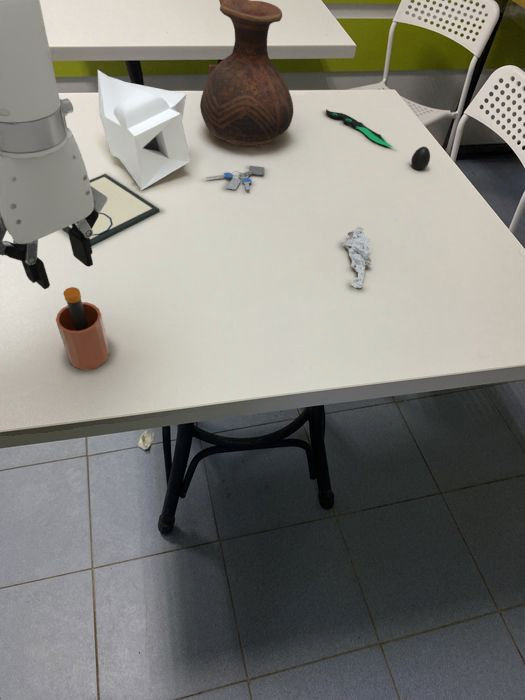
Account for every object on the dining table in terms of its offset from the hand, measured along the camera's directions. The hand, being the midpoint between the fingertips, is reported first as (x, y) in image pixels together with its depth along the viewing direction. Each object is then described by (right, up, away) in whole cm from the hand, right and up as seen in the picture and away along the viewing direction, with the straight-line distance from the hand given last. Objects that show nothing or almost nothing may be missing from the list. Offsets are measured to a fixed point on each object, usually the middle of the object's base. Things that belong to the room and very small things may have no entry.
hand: (62, 270), depth 60 cm
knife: (+49, +47, +67) cm, 96 cm away
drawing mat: (-8, +18, +36) cm, 41 cm away
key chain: (+20, +27, +47) cm, 57 cm away
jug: (+20, +43, +60) cm, 77 cm away
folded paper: (-2, +33, +49) cm, 59 cm away
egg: (+62, +34, +58) cm, 91 cm away
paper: (+42, +6, +32) cm, 54 cm away
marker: (-1, -10, +12) cm, 16 cm away
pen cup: (-1, -10, +13) cm, 16 cm away
